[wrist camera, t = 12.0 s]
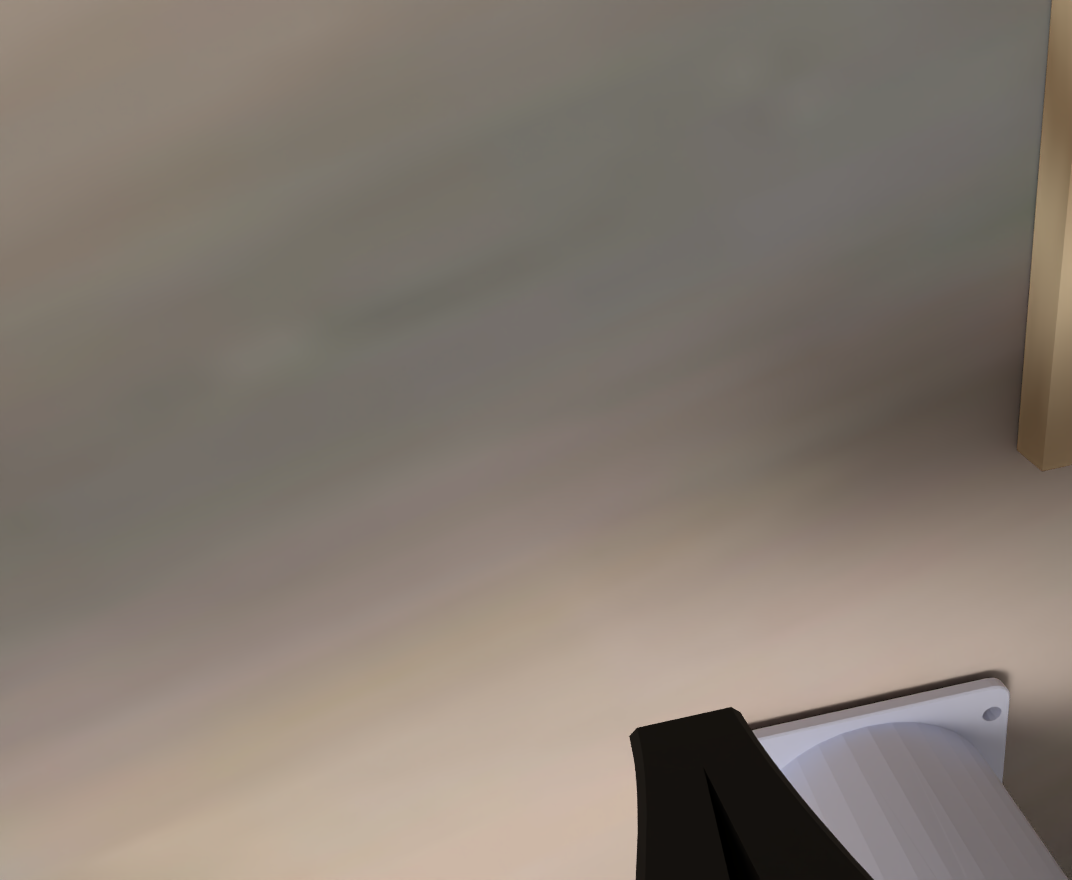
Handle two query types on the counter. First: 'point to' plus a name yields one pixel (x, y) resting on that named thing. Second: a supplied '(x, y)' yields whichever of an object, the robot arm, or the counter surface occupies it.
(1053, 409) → the baseplate
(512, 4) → the counter surface
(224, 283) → the counter surface
